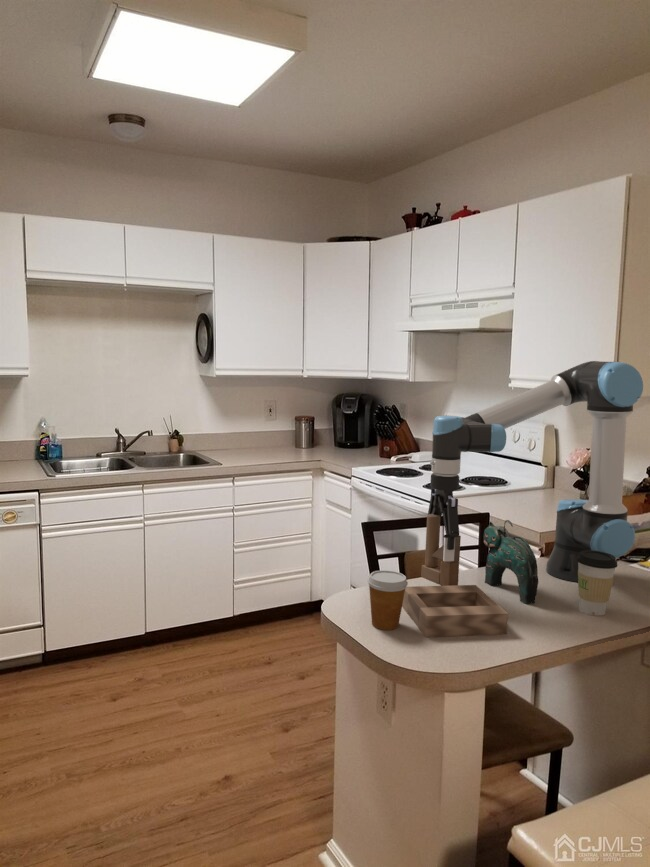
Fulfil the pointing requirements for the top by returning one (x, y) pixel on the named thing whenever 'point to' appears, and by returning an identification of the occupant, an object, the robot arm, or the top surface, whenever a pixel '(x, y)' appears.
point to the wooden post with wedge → (439, 556)
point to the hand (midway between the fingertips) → (441, 554)
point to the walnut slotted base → (454, 611)
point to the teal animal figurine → (510, 561)
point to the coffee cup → (595, 580)
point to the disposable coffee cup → (386, 598)
